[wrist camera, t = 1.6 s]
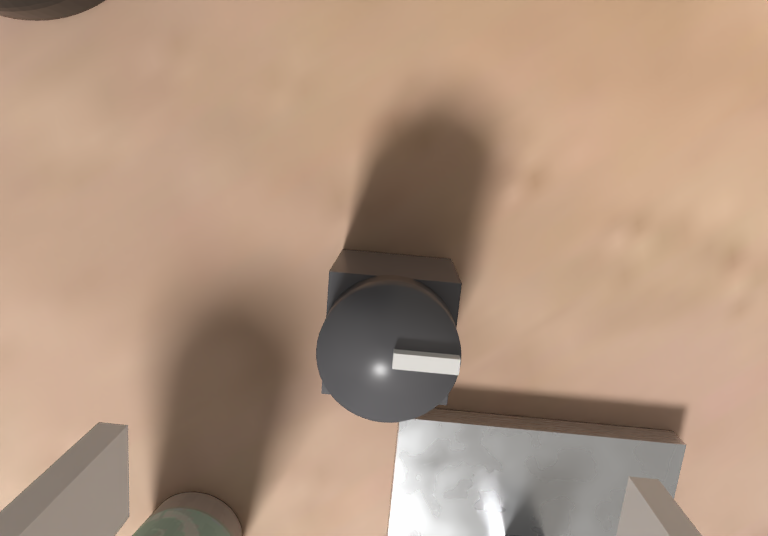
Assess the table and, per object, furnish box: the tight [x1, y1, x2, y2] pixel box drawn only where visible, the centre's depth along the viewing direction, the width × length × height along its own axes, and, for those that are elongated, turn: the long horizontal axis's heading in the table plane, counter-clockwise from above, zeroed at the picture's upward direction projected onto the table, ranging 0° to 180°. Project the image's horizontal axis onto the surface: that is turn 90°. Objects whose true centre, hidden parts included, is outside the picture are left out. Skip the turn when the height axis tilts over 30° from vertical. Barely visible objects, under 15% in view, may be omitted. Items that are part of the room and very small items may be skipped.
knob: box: [316, 249, 462, 423], centre depth 26 cm, size 6×6×8 cm
